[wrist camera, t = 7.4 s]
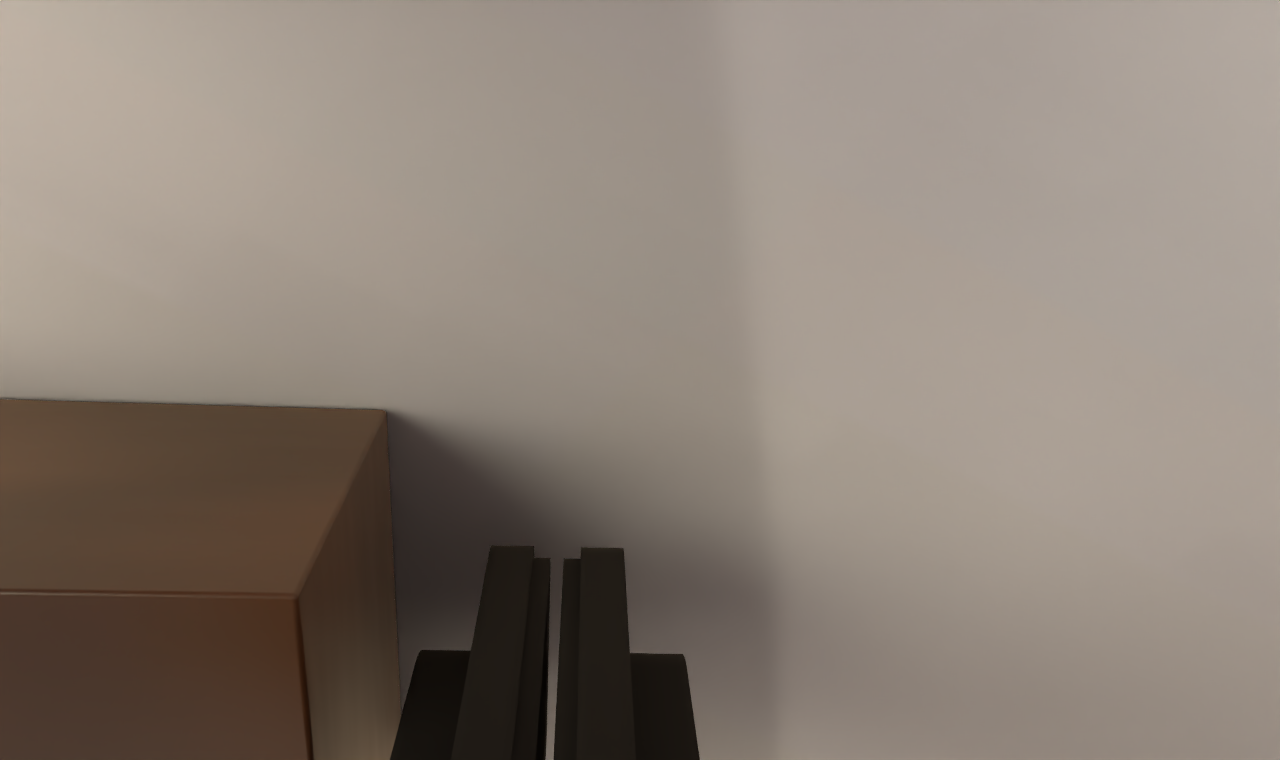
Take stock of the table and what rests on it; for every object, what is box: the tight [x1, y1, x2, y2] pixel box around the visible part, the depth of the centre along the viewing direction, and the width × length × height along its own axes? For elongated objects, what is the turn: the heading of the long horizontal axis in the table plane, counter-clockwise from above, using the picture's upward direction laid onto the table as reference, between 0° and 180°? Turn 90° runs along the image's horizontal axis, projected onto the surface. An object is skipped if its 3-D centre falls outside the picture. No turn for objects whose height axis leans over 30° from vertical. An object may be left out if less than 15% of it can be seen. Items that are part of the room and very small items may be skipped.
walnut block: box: [0, 399, 401, 760], centre depth 11 cm, size 6×6×4 cm
